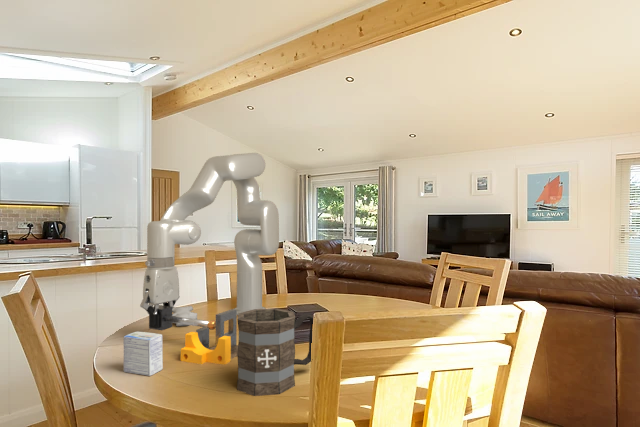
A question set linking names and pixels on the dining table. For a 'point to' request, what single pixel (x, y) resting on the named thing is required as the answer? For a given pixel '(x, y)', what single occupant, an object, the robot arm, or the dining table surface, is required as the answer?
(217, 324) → the grey square ring
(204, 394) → the dining table surface
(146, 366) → the medicine box
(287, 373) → the mug
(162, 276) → the robot arm
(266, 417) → the dining table surface
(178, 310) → the light grey rounded piece
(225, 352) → the pipe clamp
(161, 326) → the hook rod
